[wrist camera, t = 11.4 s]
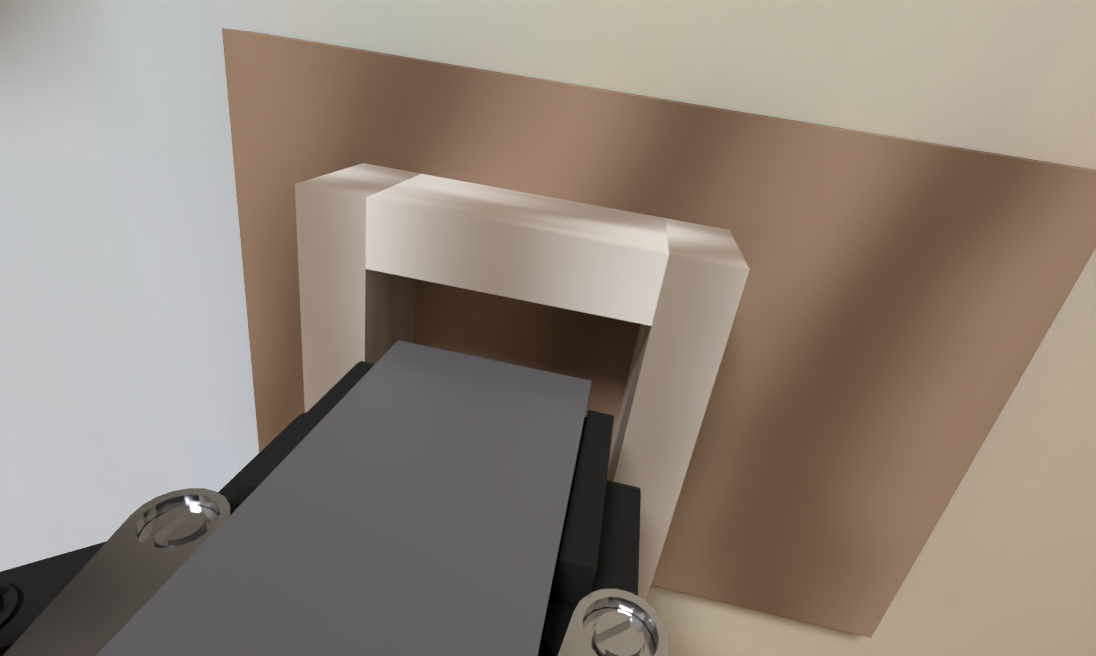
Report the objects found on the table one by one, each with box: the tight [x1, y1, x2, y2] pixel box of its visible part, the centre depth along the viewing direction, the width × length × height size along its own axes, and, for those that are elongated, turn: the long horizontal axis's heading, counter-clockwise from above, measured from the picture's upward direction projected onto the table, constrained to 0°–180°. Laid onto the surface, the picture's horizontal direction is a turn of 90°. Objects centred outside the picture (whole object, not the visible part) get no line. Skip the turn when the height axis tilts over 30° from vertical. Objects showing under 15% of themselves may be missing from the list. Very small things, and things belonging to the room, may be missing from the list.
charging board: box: [222, 28, 1096, 638], centre depth 14 cm, size 20×14×4 cm
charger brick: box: [96, 340, 592, 656], centre depth 9 cm, size 4×4×7 cm
